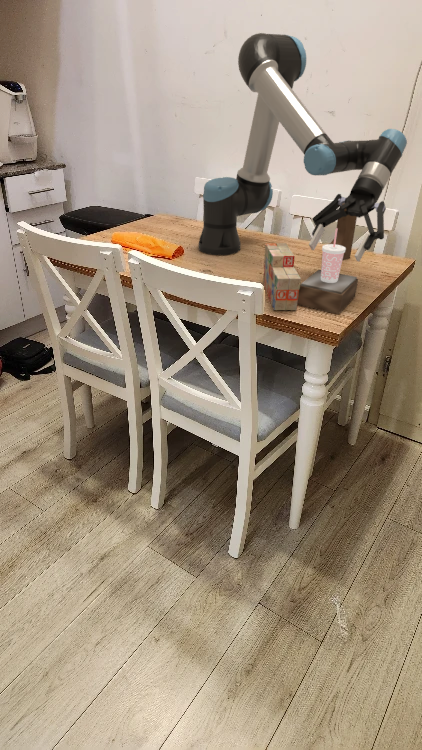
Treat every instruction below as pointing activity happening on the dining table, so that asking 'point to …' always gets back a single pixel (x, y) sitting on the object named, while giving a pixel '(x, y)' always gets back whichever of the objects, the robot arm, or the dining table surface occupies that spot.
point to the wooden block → (345, 233)
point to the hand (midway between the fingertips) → (333, 253)
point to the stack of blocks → (281, 276)
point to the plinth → (327, 293)
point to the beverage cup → (331, 261)
